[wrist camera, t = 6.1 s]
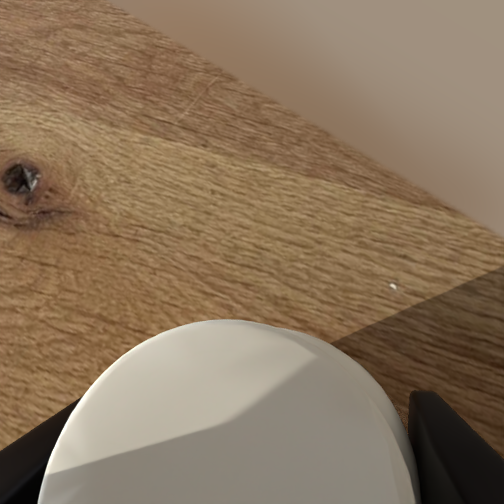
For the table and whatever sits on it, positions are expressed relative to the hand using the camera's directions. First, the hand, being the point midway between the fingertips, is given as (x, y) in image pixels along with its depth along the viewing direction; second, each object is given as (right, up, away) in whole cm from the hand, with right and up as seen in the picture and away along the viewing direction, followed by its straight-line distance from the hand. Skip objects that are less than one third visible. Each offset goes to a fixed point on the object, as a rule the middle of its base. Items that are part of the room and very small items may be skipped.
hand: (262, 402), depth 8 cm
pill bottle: (+1, -4, +6) cm, 7 cm away
